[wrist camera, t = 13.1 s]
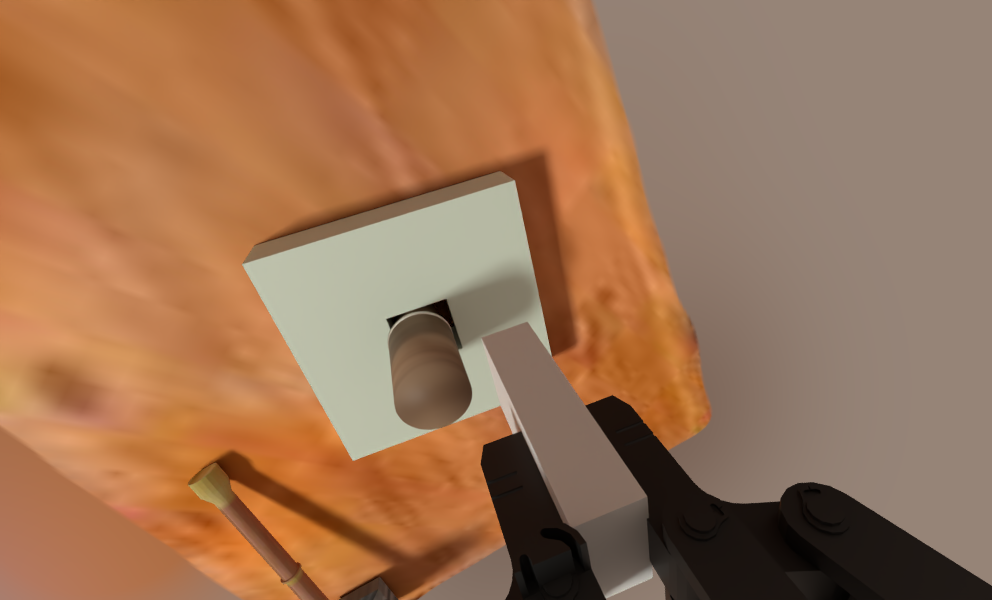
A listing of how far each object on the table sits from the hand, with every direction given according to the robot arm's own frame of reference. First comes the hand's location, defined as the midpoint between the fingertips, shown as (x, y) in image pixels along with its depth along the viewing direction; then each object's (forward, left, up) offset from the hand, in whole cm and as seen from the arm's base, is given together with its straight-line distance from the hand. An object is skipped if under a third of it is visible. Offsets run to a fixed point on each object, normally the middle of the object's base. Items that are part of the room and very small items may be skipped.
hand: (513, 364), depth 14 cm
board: (+10, -3, -25) cm, 27 cm away
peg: (+10, -4, -25) cm, 27 cm away
